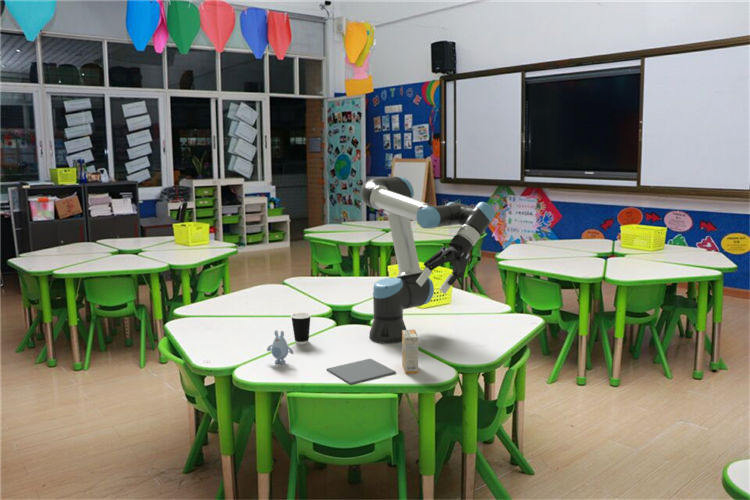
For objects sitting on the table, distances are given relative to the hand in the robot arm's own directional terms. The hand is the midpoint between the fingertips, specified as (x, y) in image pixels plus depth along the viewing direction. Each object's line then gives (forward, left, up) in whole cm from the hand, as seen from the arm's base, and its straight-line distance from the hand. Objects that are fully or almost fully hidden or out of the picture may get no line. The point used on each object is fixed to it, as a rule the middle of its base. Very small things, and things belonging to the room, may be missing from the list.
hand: (430, 287), depth 224 cm
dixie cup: (+26, -49, -28) cm, 62 cm away
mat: (+24, -8, -28) cm, 37 cm away
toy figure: (+43, -32, -28) cm, 60 cm away
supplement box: (+9, 0, -28) cm, 29 cm away
